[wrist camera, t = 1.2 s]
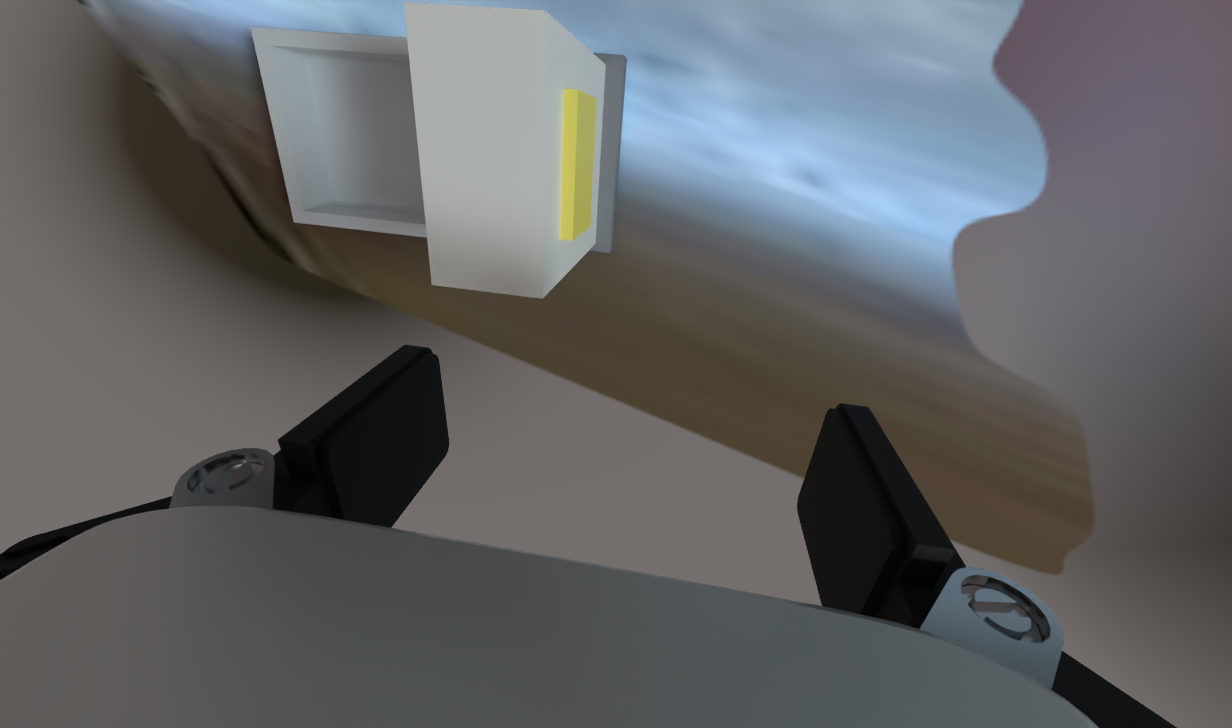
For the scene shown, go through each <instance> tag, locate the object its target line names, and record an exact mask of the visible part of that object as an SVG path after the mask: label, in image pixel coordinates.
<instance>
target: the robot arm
mask: <svg viewBox="0 0 1232 728" xmlns="http://www.w3.org/2000/svg"><path fill="white" fill-rule="evenodd" d="M278 442H279V445H280V448H281V450H280V451H279V452H278V453H276V454H275V455H274V456H273V455H272V454H271V453H269V452H268V451H267V450H262V449H258V448H243V449H237V450H230V451H227V452H223V453H220V454H217V455H214V456H212V457H210V458H207V459H205V460H203V461H201V462H199V463H198V464H196V465H194V466H193V467H191V468H190V469H188V470H187V471H186V472H185V473H184V474H183V475H182V476H181V477H180V478H179V480H178V482H177V484H176V486H175V489H174V493H173V496H171V497H167V498H164V499H161V500H157V501H154V502H150V503H147V504H143V505H140V506H137V507H133V508H129V509H126V510H123V511H119V512H115V513H112V514H109V515H105V516H102V517H98V518H95V519H91V520H88V521H84V522H81V523H78V524H74V525H70V526H67V527H63V528H60V529H57V530H53V531H50V532H47V533H43V534H39V535H35V536H32V537H29V538H27V539H25V540H23V541H20V542H18V543H17V544H15V545H13V546H11V547H10V548H8V549H7V550H6V551H5V552H3V553H2V554H0V728H1177V727H1175V726H1173V725H1172V724H1170V723H1169V722H1168V721H1166V720H1165V719H1163V718H1162V717H1160V716H1159V715H1157V714H1156V713H1154V712H1153V711H1151V710H1149V709H1148V708H1147V707H1145V706H1144V705H1142V704H1141V703H1139V702H1138V701H1136V700H1135V699H1133V698H1131V697H1130V696H1129V695H1127V694H1126V693H1124V692H1123V691H1121V690H1120V689H1118V688H1117V687H1115V686H1114V685H1112V684H1111V683H1109V682H1108V681H1106V680H1105V679H1103V678H1102V677H1100V676H1099V675H1097V674H1096V673H1095V672H1093V671H1092V670H1090V669H1089V668H1087V667H1086V666H1084V665H1083V664H1081V663H1079V662H1078V661H1076V660H1075V659H1074V658H1072V657H1071V656H1069V655H1068V654H1066V653H1065V652H1063V651H1062V648H1063V645H1064V637H1063V636H1064V635H1063V630H1062V628H1061V626H1060V624H1059V622H1058V620H1057V618H1056V617H1055V616H1054V615H1053V613H1052V612H1051V611H1050V610H1049V608H1048V607H1047V606H1046V605H1045V604H1044V603H1043V602H1042V601H1040V600H1039V599H1038V598H1037V597H1036V596H1035V595H1034V594H1033V593H1032V592H1030V591H1028V590H1027V589H1026V588H1024V587H1023V586H1021V585H1019V584H1018V583H1017V582H1015V581H1013V580H1011V579H1009V578H1007V577H1005V576H1003V575H1001V574H999V573H996V572H992V571H990V570H986V569H983V568H975V567H966V566H965V564H964V563H963V561H962V559H961V558H960V556H959V554H958V553H957V551H956V549H955V548H954V546H953V544H952V543H951V541H950V540H949V538H948V536H947V535H946V533H945V531H944V530H943V528H942V526H941V525H940V523H939V521H938V520H937V518H936V517H935V515H934V513H933V512H932V510H931V508H930V507H929V505H928V503H927V502H926V500H925V499H924V497H923V495H922V494H921V492H920V490H919V489H918V487H917V485H916V484H915V482H914V481H913V479H912V477H911V476H910V474H909V473H908V471H907V469H906V468H905V466H904V464H903V463H902V461H901V459H900V458H899V456H898V455H897V453H896V451H895V450H894V448H893V446H892V445H891V443H890V441H889V440H888V438H887V437H886V435H885V433H884V432H883V430H882V428H881V427H880V425H879V423H878V422H877V420H876V419H875V417H874V415H873V414H872V412H871V410H870V409H869V408H868V407H864V406H857V405H849V404H842V403H841V404H839V405H838V406H837V407H836V409H832V408H830V409H829V410H828V411H827V413H826V416H825V419H824V422H823V425H822V428H821V431H820V434H819V437H818V440H817V443H816V446H815V449H814V452H813V455H812V458H811V461H810V464H809V467H808V470H807V473H806V476H805V479H804V482H803V485H802V488H801V491H800V494H799V497H798V502H797V511H798V515H799V519H800V523H801V527H802V531H803V535H804V539H805V542H806V546H807V550H808V554H809V558H810V561H811V565H812V569H813V573H814V577H815V580H816V584H817V588H818V592H819V595H820V599H821V604H822V606H819V605H814V604H808V603H802V602H797V601H791V600H787V599H782V598H777V597H771V596H766V595H761V594H756V593H750V592H745V591H739V590H734V589H729V588H723V587H718V586H712V585H707V584H702V583H696V582H690V581H685V580H680V579H674V578H669V577H664V576H658V575H653V574H648V573H642V572H636V571H631V570H626V569H620V568H615V567H609V566H603V565H598V564H593V563H587V562H581V561H576V560H570V559H565V558H559V557H553V556H547V555H542V554H536V553H531V552H525V551H520V550H514V549H509V548H503V547H498V546H492V545H486V544H481V543H475V542H469V541H463V540H458V539H452V538H446V537H440V536H434V535H429V534H423V533H417V532H411V531H405V530H400V529H394V528H391V527H392V526H393V525H394V523H395V522H396V521H397V519H398V518H399V517H400V515H401V514H402V513H403V511H404V510H405V509H406V508H407V506H408V505H409V504H410V502H411V501H412V500H413V498H414V497H415V496H416V494H417V493H418V492H419V490H420V489H421V488H422V486H423V485H424V484H425V483H426V481H427V480H428V479H429V477H430V476H431V475H432V473H433V471H435V469H436V468H437V467H438V465H439V464H440V463H441V461H442V460H443V459H444V458H445V456H446V454H447V452H448V448H449V437H448V429H447V422H446V414H445V405H444V397H443V389H442V382H441V374H440V365H439V359H438V357H437V355H435V354H433V353H432V351H431V349H429V348H426V347H419V346H412V345H404V346H402V347H401V348H399V349H398V350H397V351H395V352H394V353H393V354H392V355H390V356H389V357H387V358H386V359H385V360H383V361H382V362H381V363H379V364H378V365H377V366H375V367H374V368H373V369H371V370H370V371H369V372H367V373H366V374H365V375H363V376H362V377H361V378H359V379H358V380H357V381H356V382H354V383H353V384H352V385H350V386H349V387H347V388H346V389H345V390H343V391H342V392H341V393H339V394H338V395H337V396H335V397H334V398H333V399H331V400H330V401H329V402H328V403H326V404H325V405H323V406H322V407H321V408H320V409H318V410H317V411H316V412H314V413H313V414H311V415H310V416H309V417H308V418H306V419H305V420H303V421H302V422H301V423H300V424H298V425H297V426H295V427H294V428H293V429H292V430H290V431H289V432H288V433H286V434H285V435H283V436H282V437H281V438H280V439H278Z"/></svg>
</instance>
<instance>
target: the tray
mask: <svg viewBox="0 0 1232 728" xmlns="http://www.w3.org/2000/svg"><path fill="white" fill-rule="evenodd" d="M251 32H252V36H253V41H254V45H255V50H256V54H257V59H258V63H259V68H260V72H261V77H262V81H263V86H264V90H265V95H266V99H267V104H268V108H269V113H270V117H271V122H272V126H273V131H274V135H275V140H276V144H277V149H278V153H279V158H280V162H281V167H282V171H283V176H284V180H285V185H286V189H287V194H288V198H289V203H290V207H291V212H292V216H293V221H294V222H295V223H304V224H313V225H322V226H330V227H339V228H348V229H357V230H365V231H374V232H383V233H392V234H401V235H409V236H418V237H427V231H426V221H425V212H424V202H423V192H422V182H421V172H420V162H419V152H418V142H417V132H416V122H415V112H414V102H413V92H412V82H411V72H410V62H409V52H408V42H407V38H402V37H388V36H373V35H359V34H344V33H330V32H315V31H301V30H286V29H272V28H257V27H251Z"/></svg>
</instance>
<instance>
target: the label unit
mask: <svg viewBox="0 0 1232 728" xmlns="http://www.w3.org/2000/svg"><path fill="white" fill-rule="evenodd" d="M404 12H405V22H406V32H407V42H408V52H409V62H410V72H411V82H412V92H413V102H414V112H415V122H416V132H417V142H418V152H419V162H420V172H421V182H422V192H423V202H424V212H425V221H426V231H427V241H428V251H429V261H430V271H431V281H432V285H437V286H445V287H454V288H462V289H470V290H478V291H486V292H494V293H502V294H510V295H518V296H526V297H534V298H542V299H543V298H544V297H545V296H546V295H547V294H548V292H549V291H550V290H551V289H552V288H553V287H554V286H555V285H556V284H557V283H558V282H559V281H560V280H561V279H562V278H563V277H564V276H565V275H566V274H567V273H568V272H569V271H570V270H571V269H572V268H573V266H574V265H575V264H576V263H577V262H578V261H579V260H580V259H581V258H582V257H583V256H584V255H585V254H586V253H587V252H588V251H597V252H605V253H610V252H611V251H612V249H613V237H614V224H615V210H616V197H617V184H618V170H619V157H620V143H621V130H622V117H623V103H624V90H625V76H626V63H627V58H626V57H625V56H624V55H613V54H598V53H592V52H591V51H590V50H589V49H588V48H587V47H585V46H584V45H583V44H582V43H581V42H580V41H579V40H578V39H576V38H575V37H574V36H573V35H572V34H571V33H570V32H569V31H567V30H566V29H565V28H564V27H563V26H562V25H561V24H560V23H558V22H557V21H556V20H555V19H554V18H553V17H552V16H551V15H549V14H548V13H547V12H546V11H543V10H526V9H510V8H494V7H477V6H461V5H444V4H428V3H412V2H404Z"/></svg>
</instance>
